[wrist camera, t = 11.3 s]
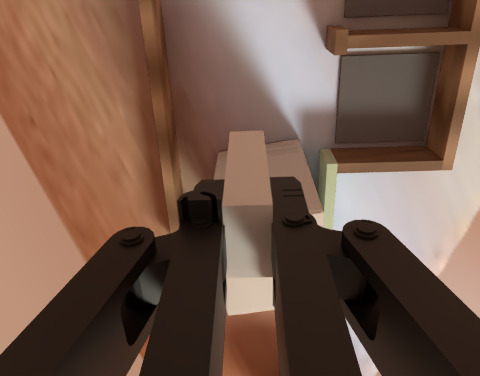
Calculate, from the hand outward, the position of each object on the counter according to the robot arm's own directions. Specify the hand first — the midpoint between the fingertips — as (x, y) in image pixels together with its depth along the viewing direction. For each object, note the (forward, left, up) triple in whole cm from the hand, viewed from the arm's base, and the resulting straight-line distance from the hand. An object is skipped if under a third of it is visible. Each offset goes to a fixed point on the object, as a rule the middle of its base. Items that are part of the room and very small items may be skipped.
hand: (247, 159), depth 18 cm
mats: (-3, +14, -22) cm, 26 cm away
